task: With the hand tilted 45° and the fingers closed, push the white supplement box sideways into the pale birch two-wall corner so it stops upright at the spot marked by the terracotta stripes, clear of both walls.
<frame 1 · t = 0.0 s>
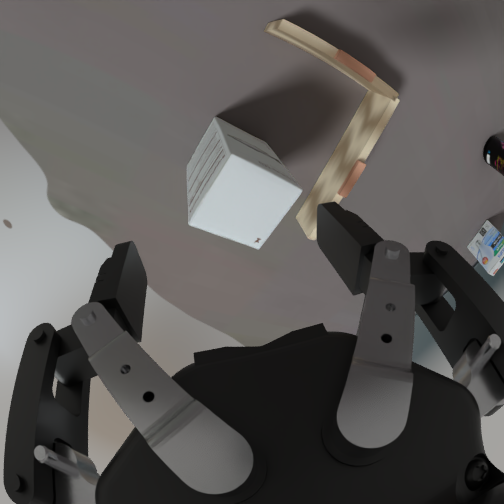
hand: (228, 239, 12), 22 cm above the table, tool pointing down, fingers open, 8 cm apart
wooden corner bracket: (373, 88, 29), on the table
light bulb box: (479, 235, 59), on the table
supplement box: (225, 152, 32), on the table
supplement container: (489, 148, 39), on the table
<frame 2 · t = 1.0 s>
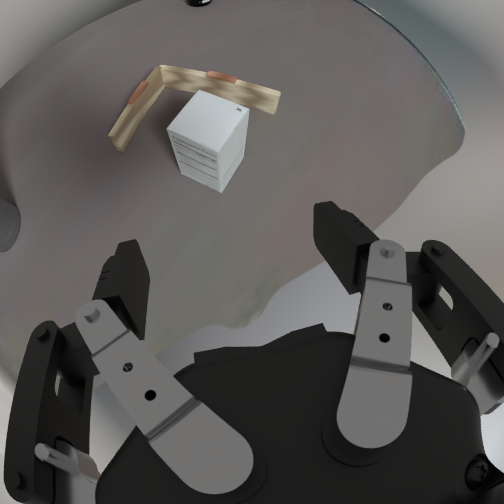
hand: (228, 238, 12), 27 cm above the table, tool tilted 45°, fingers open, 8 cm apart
wooden corner bracket: (163, 84, 44), on the table
supplement box: (212, 166, 42), on the table
supplement container: (199, 3, 50), on the table
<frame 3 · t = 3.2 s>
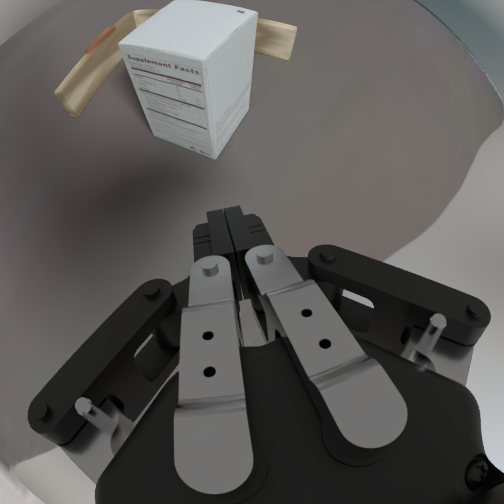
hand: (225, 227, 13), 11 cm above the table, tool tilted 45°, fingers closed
wooden corner bracket: (138, 37, 28), on the table
supplement box: (201, 123, 26), on the table
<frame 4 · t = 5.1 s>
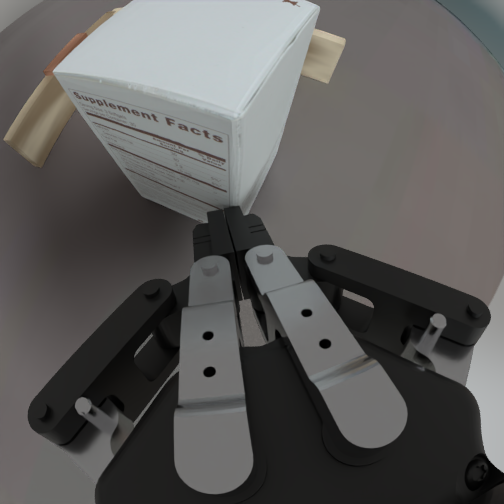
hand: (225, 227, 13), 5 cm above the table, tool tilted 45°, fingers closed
wooden corner bracket: (122, 44, 21), on the table
supplement box: (209, 174, 19), on the table, touching gripper
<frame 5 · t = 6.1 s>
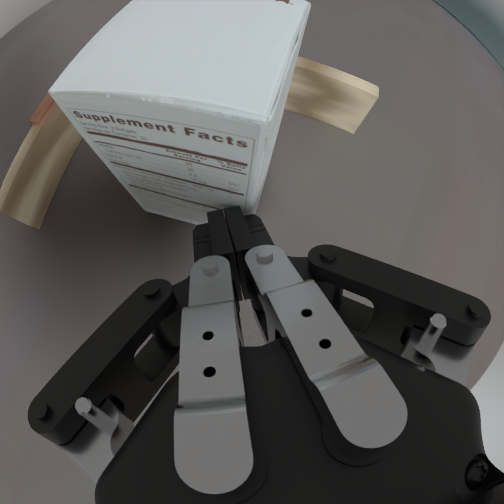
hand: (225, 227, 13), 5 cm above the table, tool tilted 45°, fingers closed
wooden corner bracket: (120, 74, 20), on the table
supplement box: (209, 179, 19), on the table, touching gripper
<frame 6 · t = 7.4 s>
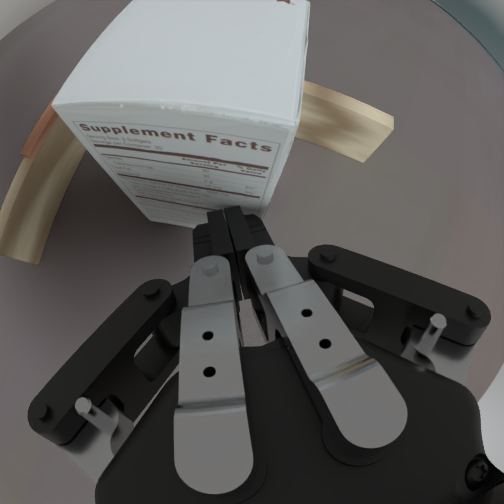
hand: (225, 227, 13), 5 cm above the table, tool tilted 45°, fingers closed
wooden corner bracket: (116, 92, 20), on the table
supplement box: (212, 183, 19), on the table, touching gripper
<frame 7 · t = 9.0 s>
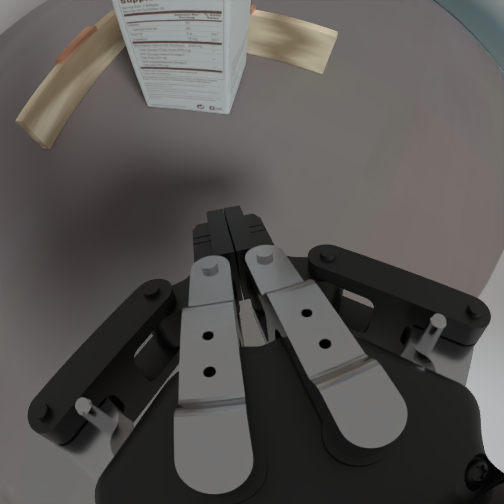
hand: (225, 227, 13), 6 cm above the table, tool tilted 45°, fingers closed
wooden corner bracket: (128, 38, 22), on the table
supplement box: (198, 84, 21), on the table
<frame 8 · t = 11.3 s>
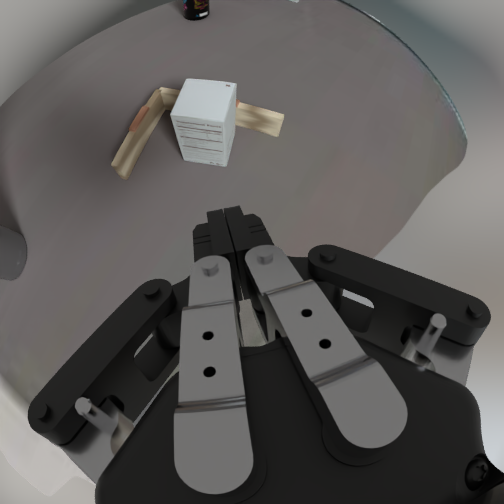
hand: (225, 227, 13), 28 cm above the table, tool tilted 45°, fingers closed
wooden corner bracket: (164, 106, 45), on the table
supplement box: (209, 147, 44), on the table
supplement container: (197, 16, 52), on the table
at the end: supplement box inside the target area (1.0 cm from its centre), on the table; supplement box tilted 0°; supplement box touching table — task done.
